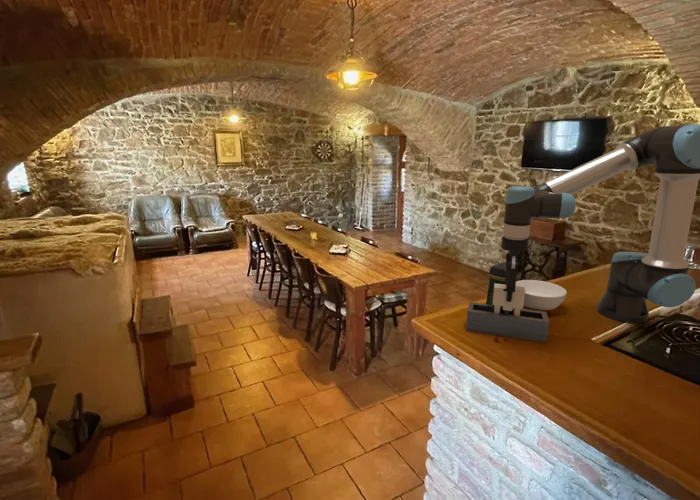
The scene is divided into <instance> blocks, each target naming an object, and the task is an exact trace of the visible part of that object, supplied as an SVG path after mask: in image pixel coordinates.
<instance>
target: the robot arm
mask: <svg viewBox="0 0 700 500" xmlns="http://www.w3.org/2000/svg"><path fill="white" fill-rule="evenodd" d="M649 166H655V170H654V174H655V175H656V176H657V177H658V178H659V186H658V191H657V196H656V197H657V198H656V202H655V203H656V205H655V210H654V216H653V222H652V229H651V235H650V241H649V246H648V253H647V252H646V253H645V252H640V251H637V252H635V251H618V252H615V253H613V255H612V258H611V261H610V268H609V273H608V278H607V279H608V280H607V283H606V284H607V287H606V291H605V292H604V294H602V297H601V298H600V300H599V301H598V303H597V312H598V313H599V314H600V315H602V316H603V317H604V316H605V317H607V318H610V319H612V320H614V321H620V322H624V323H633V324H640V323H645V322H648V320H649V315H650V314H649V307H648V302H650V303H652V304H655V305H658V306H660V307H663V308H676V307H680V306H682V305H683V304H685V302H688V301H689V300H690V299H691V298H692V297H693V295H694V294H695V292H696V287H697V283H696V280H695V279H694V278H693V277H692V276H691V275H689V274H688V273H689V268H690V263H689V262H687V260H685V254H686V249H687V244H688V237H689V233H690V226H691V222H692V216H693V212H694V207H695V206H694V205H695V200H696V196H697V195H696V194H697V191H698V185H699V180H700V124H697V123H695V124H694V123H691V124H681V125H666V126H665V125H664V126H658V127H654V128H653V129H652V128H651V129H649V130H647V131H645V132H642V133H640V134H637V135H635V136H633V137H631V138H629V139H627V140H625V141H623V142H621V143H618V144H617V145H616V147H615V148H614V149H613V150H611V151H609V152H607V153H605V154H602V155H601V156H598V157H597V158H594V159H592V160H590V161H588V162H586V163H583V164H581V165H579V166H577V167H574V168H573V169H570V170H568V171H566V172H564V173H562V174H560V175H557V176H556V177H553V178H551V179H550V180H546V181H545V182H543V183H540V184H539V185H536V186H534V187H532V186H521V185H519V186H518V185H516V186H510V187H508V189H507V192H506V196H505V202H504V203H505V205H504V206H505V208H504V218H503V225H501V226H500V229H502V235H503V236H502V237H501V245H500V247H501V249H502V250H503V251H507V253H505V261H506V278H505V284H506V289H503V291H505V295H504V304H503V310H508V311H512V308H513V299H514V292H515V286H516V282H517V277H518V275H517V274H518V272H519V267H520V266H519V264H520V262H521V255H520V254H519V253H523V252H526V251H527V250H528V245H529V239H528V238H529V237H530V232H531V231H530V230H531V222H532V219H558V220H560V219H568V218H570V217H572V216H573V214H574V213H575V211H576V206H577V205H576V198H575V197H574V194H576V193H580V192H581V191H583V190H585V189H588V188H589V187H593V186H594V185H597V184H598V183H601V182H603V181H605V180H608V179H610V178H611V177H614V176H616V175H619V174H620V173H623V172H625V171H629V172H632V171H635V170H637V169H640V168H643V167H649ZM647 301H648V302H647Z"/></svg>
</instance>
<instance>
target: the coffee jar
mask: <svg viewBox="0 0 700 500" xmlns="http://www.w3.org/2000/svg"><path fill="white" fill-rule="evenodd" d="M488 276H489V277H488V278H489V279H488V287H487V295H486V302H485V304H489V305H493V294H494V284H504V285H506V284H505V278H506V262H505V261H502V262H499V263H497V264H494V265H491V266H490V267H489V273H488Z"/></svg>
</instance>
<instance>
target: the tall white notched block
mask: <svg viewBox="0 0 700 500" xmlns="http://www.w3.org/2000/svg"><path fill="white" fill-rule="evenodd" d="M503 289H506V285H504V284H494V294H493V305H495V307H494V313H500V306H503V304H504V295H505V291H503ZM524 297H525V287H522V286H515V292H514V299H513V308H514V314H513V315H515V316H520V309H524Z"/></svg>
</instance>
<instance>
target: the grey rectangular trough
mask: <svg viewBox="0 0 700 500" xmlns="http://www.w3.org/2000/svg"><path fill="white" fill-rule="evenodd" d="M467 307H468V308H467V312H466V313H467V314H466V325H465V326H466V327H465V331H468V332H473V333H480V334H485V335H487V334H488V335H492V336H493V335H494V336H498V337H507V338H512V339H520V340H526V341H532V342H537V343H539V342H540V343H545V344H546V343H547V339H548V335H549V334H548V333H549V326H550V321H549V317H548V313H547V311H544V310H536V309H527V308H523V309H520V316H515V315H513V314H514V308H512V311H508V310H503V306H500V313H494V307H495V305H489V304H486V303H480V302H472V301H469V302H468V306H467Z"/></svg>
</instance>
